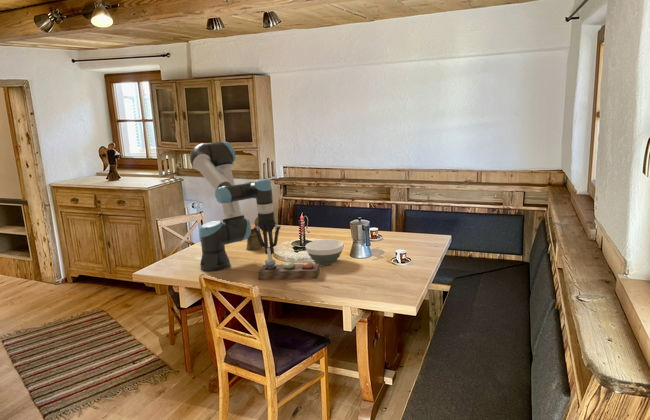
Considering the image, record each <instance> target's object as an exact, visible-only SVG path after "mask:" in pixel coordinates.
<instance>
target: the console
mask: <svg viewBox="0 0 650 420" xmlns="http://www.w3.org/2000/svg"><path fill="white" fill-rule="evenodd" d="M284 264H285V263H283V264H275V265H274V270H268V269H267V265H265V264H263V265H262V266H261V268H259V270H258V271H257V275H258V276H257V277H258V281H265V280H268V281H269V280H270V281H271V280H272V281H273V280H276V281H277V280H317V279H318V278H319V276H320V273H321V265H320V264H316V263H313V267H311V269H305V268H303V263H294V267H293V269H286V268H284Z"/></svg>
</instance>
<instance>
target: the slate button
mask: <svg viewBox="0 0 650 420" xmlns="http://www.w3.org/2000/svg"><path fill="white" fill-rule="evenodd" d="M264 262H265V264H264V265H267V269H268V270H274V265H276V260H275V259H273V260H272V261H268V259H267V260H265V261H264Z"/></svg>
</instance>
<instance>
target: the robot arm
mask: <svg viewBox="0 0 650 420" xmlns="http://www.w3.org/2000/svg"><path fill="white" fill-rule="evenodd" d="M189 154H190V155H189V162H190V164H191V167H192V168H194V170H196V171H198V172H199V173H200V174H201V175H202V177H203V178H204V179H205V180H206V181H207V182H208V183H209V184H210V186H211V187H212V188H213V189H214V190H215V191H214V196H215V199H216V201H217V203H219V204H221V205H222V211H223V217H222V219H221V220H222V221H221V220H213V221H208V222H205V223H203V224H202V225H200V227H199V238H200V245H201V246H200V247H201V253H202V254H201V257H200V264H199V265H200V270H202V271H204V272H214V271H216V272H217V271H220V270H223V269H227V268H228V267H230V265H231V260H230V259H229V256H228V254H227V252H226V247H225V245H229V244H234V243H238V242H243V241H247V239H248V238H249V236H250V233H251V229H252V226H251V222H250V219H249V218H247V217H245V215H244V214H243V213H242V212H241V208H240V204H239V201H244V200H250V199H256V200H255V202H256V209H257V212H258V213H257V217H258V226H256V227H255V226H254V227H253V229H254V231H255V232H256V234H257V237H258V240H259V243H260V246H261V247H262V248H264V253H265V255H267V260H268V261H272V260H274V258H273V255H274V252H275V251H274V248H275V247H276V246H277V245H278V240H279V234H280V229H281V225H278V224H277V223H276V221H275V212H274V203H273V202H274V201H273V188H272V181H271V179H269V178H259V179H256V180H254V181H246V182H244V183H239V184H235V181H234V176H233V170H232V168H233V166H234V162H235V161H236V151H235V149H234V146H233V145H232V144H231V143H230V142H229V141H215V142H208V143H207V142H206V143H200V144H197V145H196V146H194V147H193V148H192V149H191V152H190V153H189ZM259 228H260V230H259ZM274 229H275V232H274V237H273V230H274ZM261 231H262V233H261ZM262 235H263V237H262Z"/></svg>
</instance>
